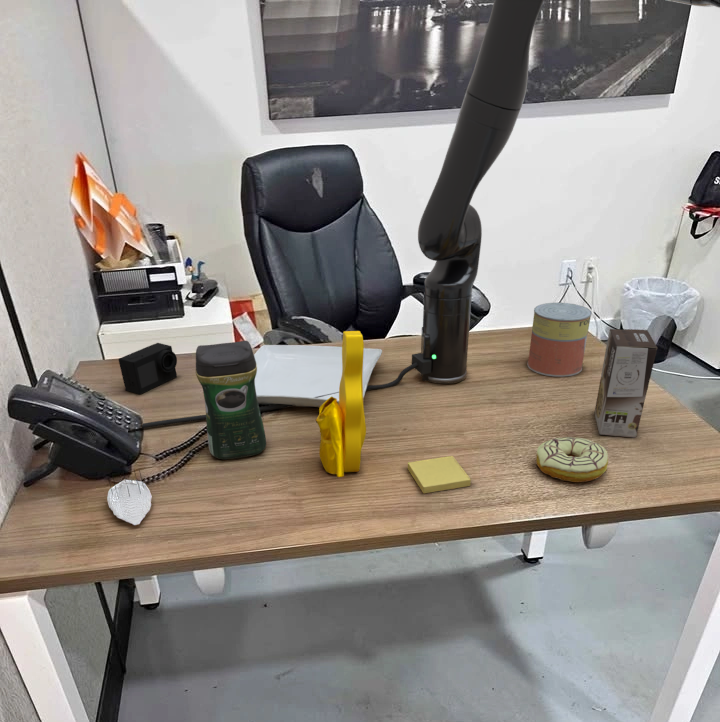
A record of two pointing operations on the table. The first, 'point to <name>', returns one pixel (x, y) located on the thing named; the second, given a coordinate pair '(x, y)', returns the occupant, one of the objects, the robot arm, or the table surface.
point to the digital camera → (148, 368)
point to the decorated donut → (572, 459)
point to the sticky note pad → (438, 474)
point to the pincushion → (130, 500)
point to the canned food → (558, 339)
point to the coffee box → (624, 381)
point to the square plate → (303, 373)
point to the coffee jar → (230, 399)
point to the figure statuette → (344, 413)
